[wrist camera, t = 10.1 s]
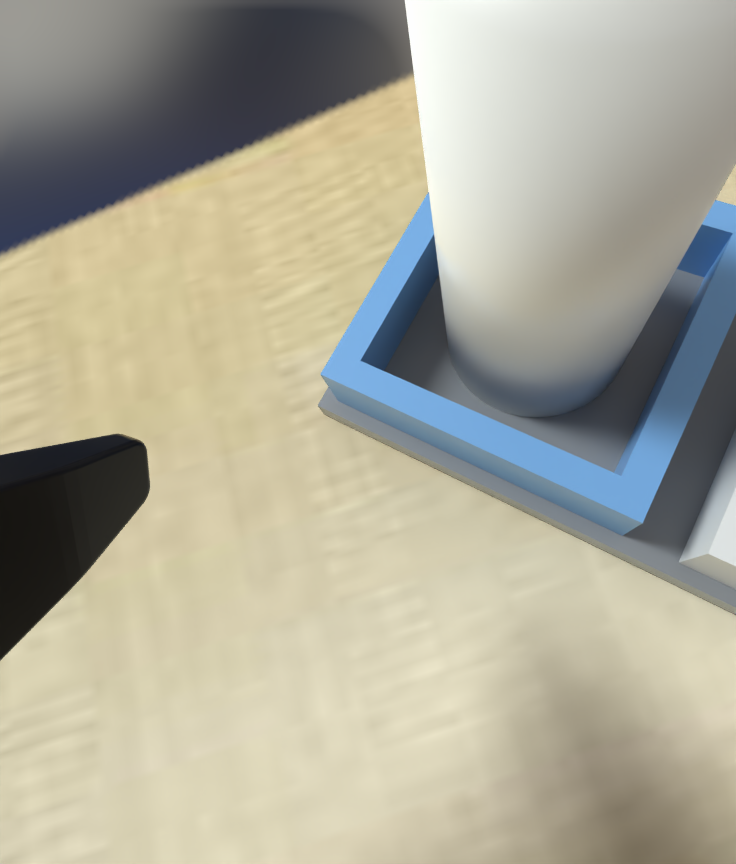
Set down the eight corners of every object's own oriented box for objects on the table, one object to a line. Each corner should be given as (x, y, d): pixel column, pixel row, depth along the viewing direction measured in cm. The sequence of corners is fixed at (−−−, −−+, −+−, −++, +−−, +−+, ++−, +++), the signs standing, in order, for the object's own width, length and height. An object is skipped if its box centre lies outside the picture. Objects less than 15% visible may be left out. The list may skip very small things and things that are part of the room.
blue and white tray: (1199, 412, 14) (1367, 363, 11) (1103, 793, 12) (1273, 841, 9) (459, 182, 20) (456, 116, 17) (324, 414, 18) (297, 379, 15)
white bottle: (568, 450, 16) (882, -142, 3) (415, 363, 17) (253, -252, 5) (660, 306, 16) (1193, -611, 4) (505, 236, 18) (555, -578, 6)
